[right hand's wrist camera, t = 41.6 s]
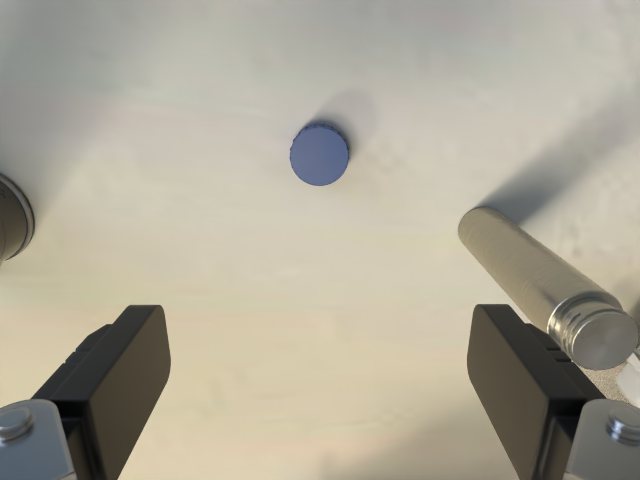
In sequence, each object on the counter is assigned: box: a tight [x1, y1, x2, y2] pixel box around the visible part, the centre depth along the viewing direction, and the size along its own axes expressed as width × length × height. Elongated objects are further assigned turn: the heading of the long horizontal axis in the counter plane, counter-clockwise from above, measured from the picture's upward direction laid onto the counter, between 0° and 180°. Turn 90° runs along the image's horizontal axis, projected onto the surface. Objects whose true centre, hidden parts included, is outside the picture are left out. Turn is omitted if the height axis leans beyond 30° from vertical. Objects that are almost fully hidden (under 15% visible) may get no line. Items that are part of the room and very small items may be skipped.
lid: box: [290, 124, 349, 186], centre depth 39 cm, size 5×5×2 cm
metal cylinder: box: [458, 207, 639, 371], centre depth 33 cm, size 4×4×20 cm
